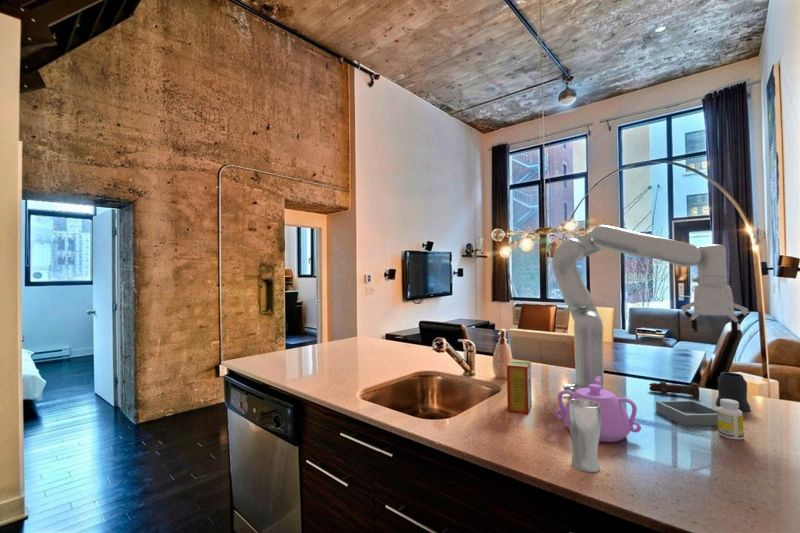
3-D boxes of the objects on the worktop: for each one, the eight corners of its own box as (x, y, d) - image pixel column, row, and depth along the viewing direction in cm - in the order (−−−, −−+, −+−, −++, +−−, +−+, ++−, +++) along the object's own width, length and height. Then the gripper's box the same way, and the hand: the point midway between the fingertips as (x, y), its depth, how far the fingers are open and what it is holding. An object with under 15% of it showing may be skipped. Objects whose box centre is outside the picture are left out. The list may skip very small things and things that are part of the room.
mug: (755, 414, 122) (753, 379, 122) (718, 409, 126) (717, 375, 127) (744, 403, 132) (742, 370, 133) (710, 399, 137) (709, 368, 137)
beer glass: (564, 459, 93) (562, 398, 94) (590, 458, 94) (589, 397, 94) (579, 474, 86) (578, 408, 87) (608, 472, 87) (607, 407, 87)
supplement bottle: (737, 433, 107) (736, 398, 108) (748, 441, 102) (746, 405, 102) (714, 431, 109) (713, 397, 109) (723, 438, 104) (722, 403, 104)
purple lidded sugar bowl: (639, 425, 114) (638, 379, 115) (642, 454, 96) (641, 399, 96) (561, 412, 125) (560, 370, 126) (550, 436, 107) (549, 387, 107)
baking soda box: (528, 415, 123) (527, 365, 124) (507, 412, 126) (506, 364, 127) (531, 406, 132) (530, 360, 132) (512, 403, 135) (511, 358, 135)
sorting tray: (686, 427, 112) (686, 415, 112) (656, 411, 125) (655, 401, 125) (727, 426, 113) (727, 414, 113) (693, 411, 125) (692, 400, 125)
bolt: (649, 396, 147) (698, 400, 140) (650, 392, 143) (700, 397, 136) (648, 381, 149) (695, 384, 142) (649, 377, 146) (697, 380, 139)
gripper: (679, 281, 129) (681, 331, 129) (748, 281, 118) (750, 336, 118) (680, 281, 135) (682, 329, 134) (746, 281, 124) (748, 333, 124)
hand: (714, 332), depth 126 cm, fingers open, 9 cm apart
